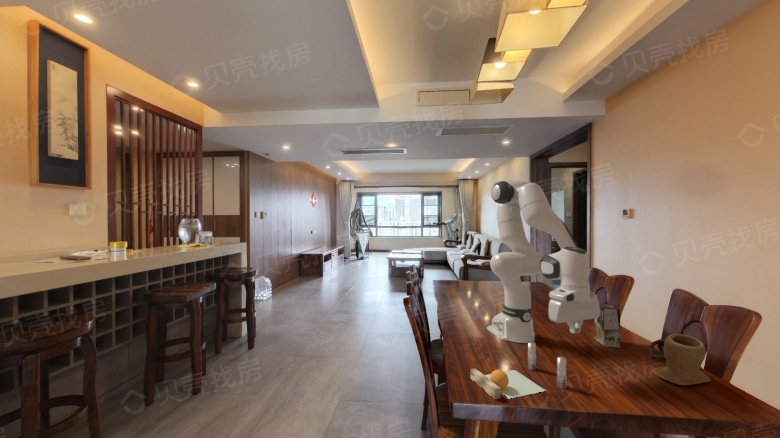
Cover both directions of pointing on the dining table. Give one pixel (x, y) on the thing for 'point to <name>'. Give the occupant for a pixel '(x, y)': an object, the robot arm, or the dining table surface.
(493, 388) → the wall
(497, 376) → the ball
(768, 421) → the dining table surface
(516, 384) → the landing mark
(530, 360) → the post
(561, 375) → the post
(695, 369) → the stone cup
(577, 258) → the robot arm
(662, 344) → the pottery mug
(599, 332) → the coffee box
